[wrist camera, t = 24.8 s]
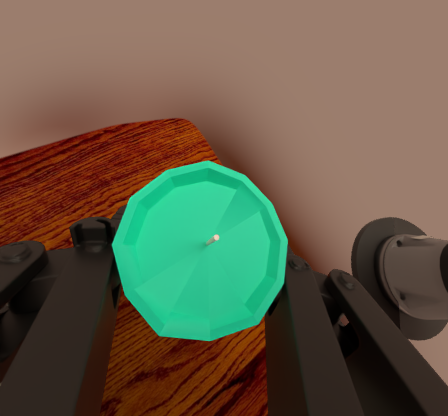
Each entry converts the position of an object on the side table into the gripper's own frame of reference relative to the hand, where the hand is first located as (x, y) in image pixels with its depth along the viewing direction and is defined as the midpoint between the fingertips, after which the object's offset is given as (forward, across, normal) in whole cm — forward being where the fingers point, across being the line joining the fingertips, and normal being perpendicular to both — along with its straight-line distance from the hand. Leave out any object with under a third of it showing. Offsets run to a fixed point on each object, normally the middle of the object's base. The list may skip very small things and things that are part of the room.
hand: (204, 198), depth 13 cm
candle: (0, 0, -6) cm, 6 cm away
